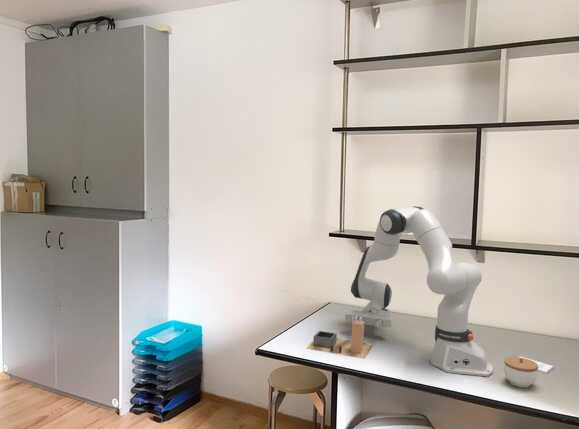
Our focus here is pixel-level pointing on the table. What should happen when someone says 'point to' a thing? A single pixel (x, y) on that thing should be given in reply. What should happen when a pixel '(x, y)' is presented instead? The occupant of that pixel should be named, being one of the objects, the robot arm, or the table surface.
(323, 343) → the end holder
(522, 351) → the table surface
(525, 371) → the lidded jar
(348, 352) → the cable board
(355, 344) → the tan tall block
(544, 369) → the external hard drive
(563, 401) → the table surface
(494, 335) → the table surface
